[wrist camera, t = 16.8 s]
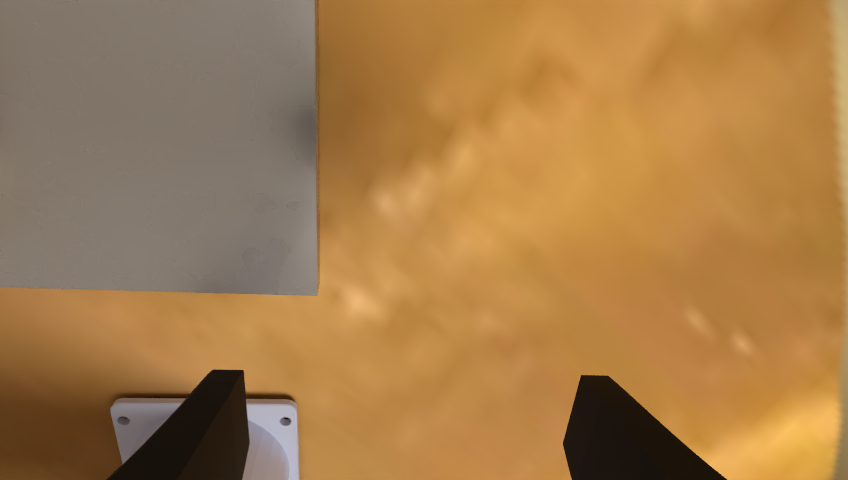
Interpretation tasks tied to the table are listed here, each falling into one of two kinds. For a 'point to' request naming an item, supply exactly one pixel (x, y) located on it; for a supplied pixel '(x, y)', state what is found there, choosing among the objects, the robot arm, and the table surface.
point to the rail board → (160, 145)
